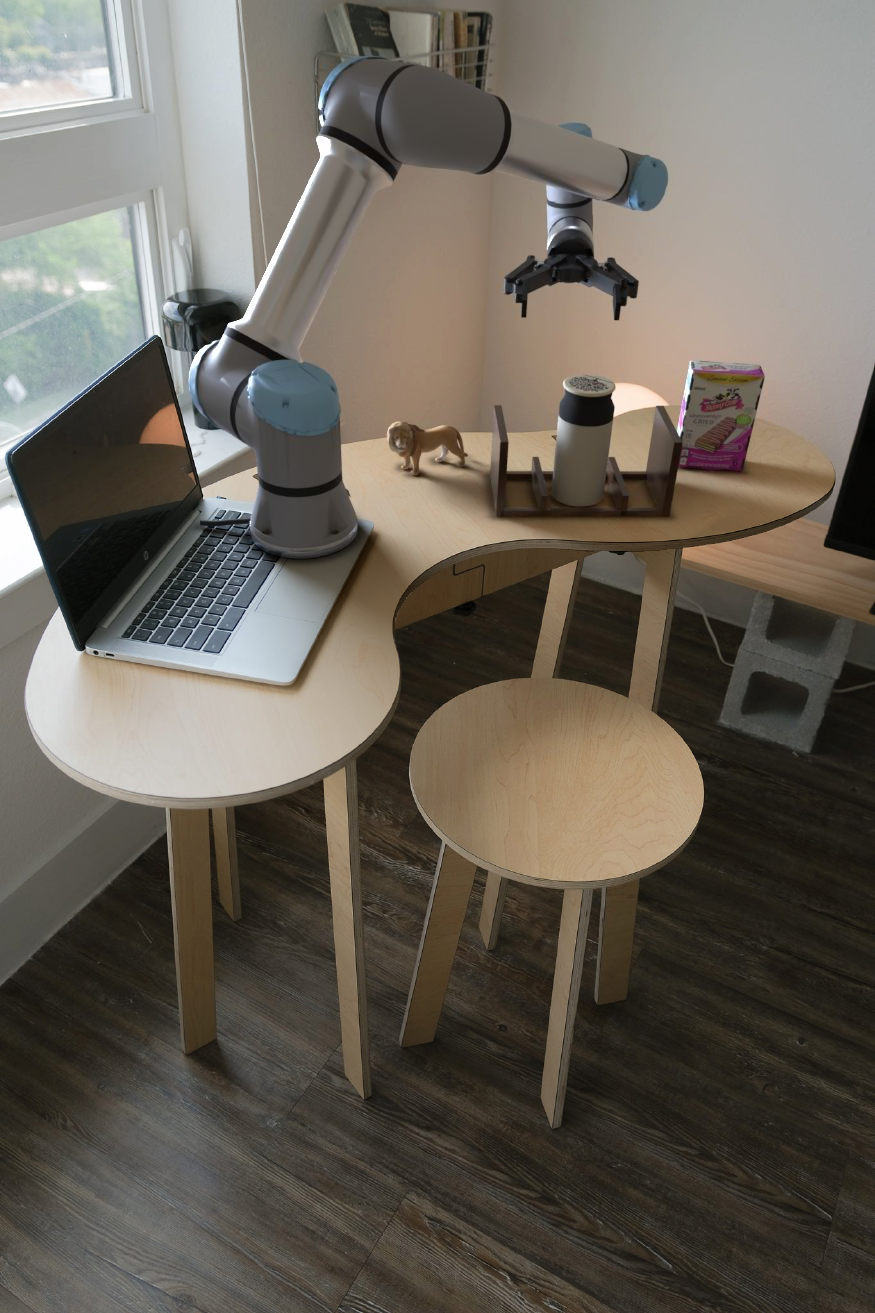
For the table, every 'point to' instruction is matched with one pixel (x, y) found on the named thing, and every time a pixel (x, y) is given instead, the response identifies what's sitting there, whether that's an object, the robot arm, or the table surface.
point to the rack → (657, 475)
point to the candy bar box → (718, 414)
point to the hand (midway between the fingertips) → (570, 310)
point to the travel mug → (583, 440)
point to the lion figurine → (424, 443)
